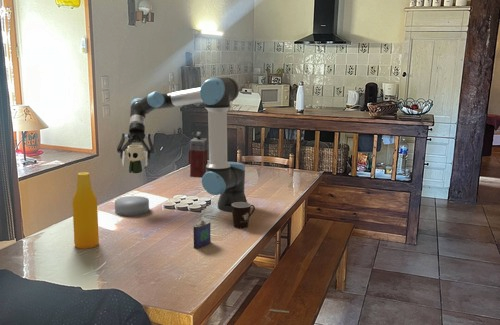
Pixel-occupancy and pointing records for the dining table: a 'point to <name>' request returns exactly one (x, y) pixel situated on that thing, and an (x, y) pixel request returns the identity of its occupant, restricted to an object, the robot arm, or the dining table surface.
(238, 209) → the coffee mug
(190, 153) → the glass decanter
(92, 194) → the beer bottle
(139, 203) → the plinth
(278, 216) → the dining table surface
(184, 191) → the dining table surface
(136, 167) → the character mug
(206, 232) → the flask
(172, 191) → the dining table surface
